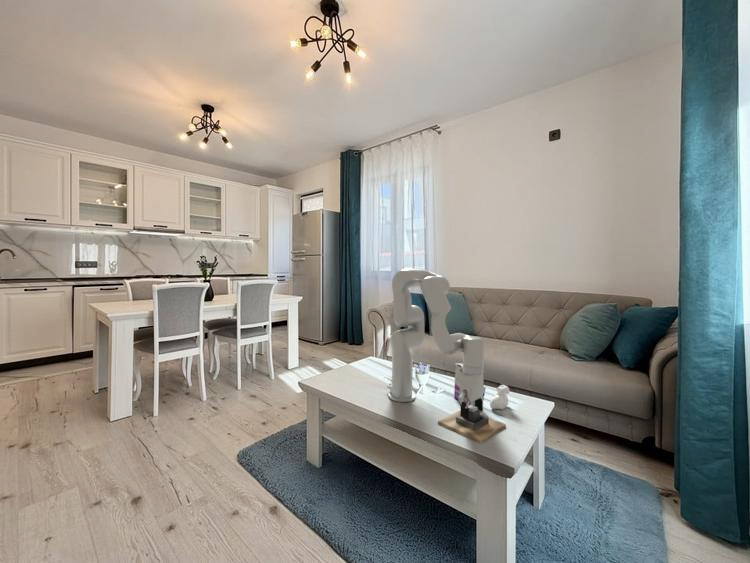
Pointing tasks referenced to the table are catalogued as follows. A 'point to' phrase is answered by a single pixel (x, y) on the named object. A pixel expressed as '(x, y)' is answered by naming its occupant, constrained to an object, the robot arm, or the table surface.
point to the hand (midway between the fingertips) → (471, 414)
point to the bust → (500, 398)
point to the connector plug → (473, 414)
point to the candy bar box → (457, 381)
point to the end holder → (472, 426)
